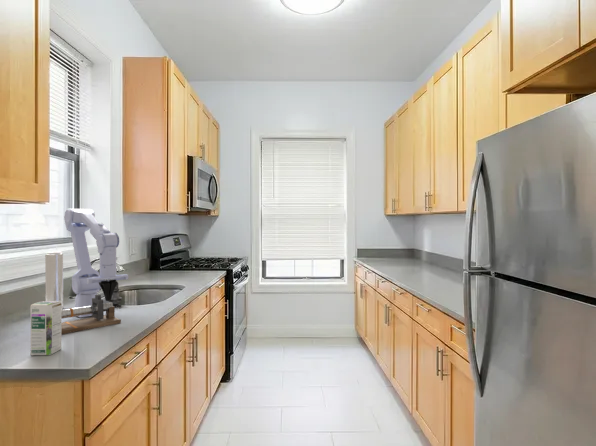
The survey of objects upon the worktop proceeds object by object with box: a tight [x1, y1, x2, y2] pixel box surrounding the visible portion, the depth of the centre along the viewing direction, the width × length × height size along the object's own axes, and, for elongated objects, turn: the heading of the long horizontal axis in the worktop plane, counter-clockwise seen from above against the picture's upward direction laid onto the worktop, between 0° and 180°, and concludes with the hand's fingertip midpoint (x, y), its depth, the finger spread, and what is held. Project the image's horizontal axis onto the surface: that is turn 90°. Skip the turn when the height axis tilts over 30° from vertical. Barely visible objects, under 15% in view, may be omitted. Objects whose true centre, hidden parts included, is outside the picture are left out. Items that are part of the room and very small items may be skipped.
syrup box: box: [29, 300, 62, 356], centre depth 111 cm, size 6×6×14 cm
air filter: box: [44, 251, 64, 310], centre depth 166 cm, size 6×6×25 cm
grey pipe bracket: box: [91, 293, 105, 320], centre depth 143 cm, size 7×2×8 cm, turn 47°
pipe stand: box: [61, 302, 122, 335], centre depth 139 cm, size 12×22×7 cm, turn 137°
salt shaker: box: [108, 281, 123, 308], centre depth 171 cm, size 6×6×12 cm
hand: (108, 300), depth 145 cm, fingers closed
